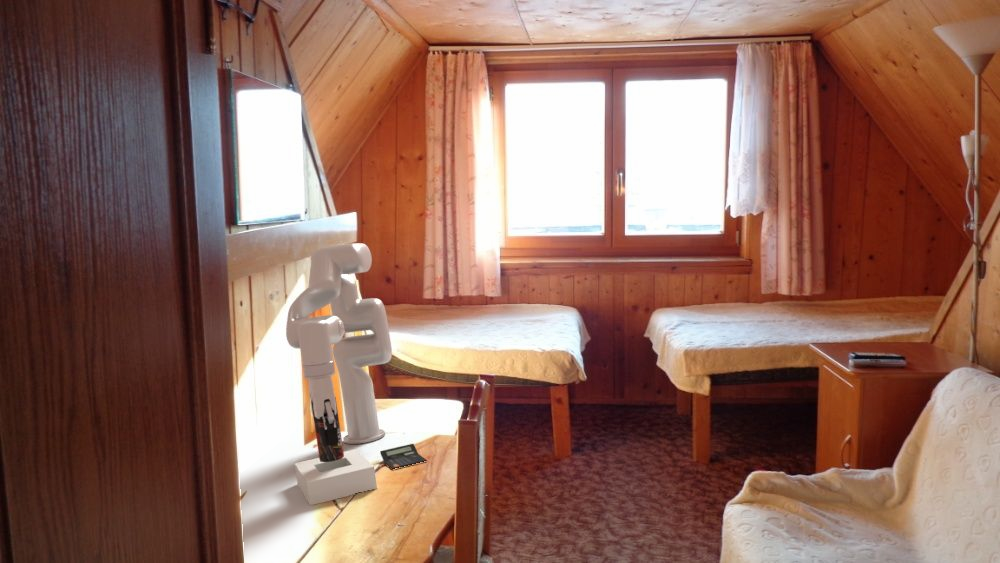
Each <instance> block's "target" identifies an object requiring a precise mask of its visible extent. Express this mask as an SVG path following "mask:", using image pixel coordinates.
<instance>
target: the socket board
mask: <svg viewBox="0 0 1000 563" xmlns="http://www.w3.org/2000/svg"><path fill="white" fill-rule="evenodd" d="M343 452H344V457H343V458H341V459H339V460H336V461H331V462H321V461H320V459H319V457H317V458H316V457H315V458H312V459H309V460H303V461H297V462H295V463H293V464H294V469H295V475H296V482H297V486H298V485H299V486H298V488H299V489H300V491H301V492H302V494H303V495H304V498H305V499H306V502H308V504H309V506H314V505H317V504H322V503H326V502H327V503H328V502H330V501H335V500H337V499H338V498H339V499H342V498H346V497H350V496H353V495H352V494H354V495H356V494H355V493H358V492H362V493H364V492H363V491H366V492H368V491H367V490H370V491H373V490H372V489H374V490H377V489H378V484H377V478H376V471H375V466H374V465H373V464H372V463H371V462H370V461H369V460H368V459H367V458H366V457H365V456H364V455H363V454H361V452H359V451H358V449H357V448H356V449H351V450H347V451H343ZM376 488H377V489H376ZM358 494H359V493H358ZM349 495H350V496H349Z"/></svg>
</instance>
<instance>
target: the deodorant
mask: <svg viewBox="0 0 1000 563" xmlns="http://www.w3.org/2000/svg"><path fill="white" fill-rule="evenodd" d="M335 401H336V410H337V413H336V415H335V416H334V418H335V423H336V427H337V434H338V441H339V443H337V444H333V445H329V446H326V445H325V439H324V432H323V430H324V425H323V420H322V417H320V419H317V418H316V417H315V415H314V409H313V407H314V406H313V402H312V401H311V404H312V411H313V414H312V416H313V423H314V429H315V436H316V444H317V445H316V446H317V451H318V458H319V459H320V461H321V462H331V461H336V460H339V459H341V458H343V457H344V452H345V451H344V448H343V441H342V440H343V439H342V438H343V437H342V432H341V426H340V420H339V419H340V417H339V410H338V405H337V397H336V396H335ZM311 404H310V405H311ZM333 412H334V410H333ZM324 416H327V414H324ZM325 420H327V419H325Z"/></svg>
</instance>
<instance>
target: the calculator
mask: <svg viewBox="0 0 1000 563" xmlns="http://www.w3.org/2000/svg"><path fill="white" fill-rule="evenodd" d="M379 454H380V456H381V458H382V461H383V462H385V463H386V464H387V465H388V466H389V467H388V466H387V465H386V464H385V463H384V464H385V465H386V466H387V467H388V468H390V467H391V468H392V469H395V468H399V467H404V466H408V465H412V464H416V463H420V462H424V461H427V462H428V460H427V458H425V457H423V456H422V455H421V454H420V453H419V452H418V451H417V448H416V446H415V444H414V443H410V444H405V445H401V446H397V447H393V448H388V449H383V450H380V453H379ZM412 466H413V465H412ZM408 467H409V466H408ZM391 468H390V469H391ZM404 468H405V467H404ZM392 469H391V470H392Z"/></svg>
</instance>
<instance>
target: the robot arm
mask: <svg viewBox="0 0 1000 563" xmlns="http://www.w3.org/2000/svg"><path fill="white" fill-rule="evenodd" d="M372 261H373V258H372V252H371V251H370V248H369V247H368V245H366V244H365V243H361V242H360V243H359V242H358V243H356V242H354V243H353V242H352V243H344V244H343V243H342V244H334V245H327V246H322V247H320V248H317V249H316V250H315V251H314V252H312V254H311V256H310V267H309V268H310V269H309V270H310V271H309V279H308V287H307V288H306V289H304V291H302V292H301V293H300V294H299V295H298V296H297V297H296V298H295V300H294V301H293V302H292V304H290V306H289V309H288V313H287V318H286V319H287V320H286V328H285V330H286V331H285V337H286V340H287V343H288V345H289V346H290V347H292V348H293V349H300V356H301V362H302V363H301V364H302V370H303V378H304V379H305V380H307V381H308V384H307V385H308V394H309V402H310V412H311V414H312V415H313V411H312V404H311V401H312V402H313V406H314V407H313V409H314V415H315V417H316V418H317V419H320V417H322V420H323V425H324V430H323V432H324V439H325V445H326V446H329V445H333V444H337V443H339V441H338V434H337V427H336V423H335V418H334V416H335V415H336V413H337V410H338V409H337V410H336V403H337V400H336V401H335V397H336V395H335V390H334V389H335V388H334V382H333V377H332V376H334V375H336V369H337V372H338V376H339V382H340V387H341V395H342V402H343V407H344V416H345V424H346V429H347V435H346V434H345V436H344V437H342V438H343V439H342V440H343V443H345V444H348V445H358V444H365V443H370V442H374V441H377V440H379V439H381V438H384V436H385V435H386V432H385V430H384V429H380V427H379V420H378V419H379V418H378V412H377V406H376V397H375V391H374V384H373V380H372V377H371V376H370V375H369V373H368V372H367V371H366V370H365V369H364V368H365V367H370V366H371V367H372V366H377V365H384V364H387V363H389V362H390V361H391V360H392V356H393V350H392V341H391V336H390V331H389V330H390V329H389V324H388V317H387V312H386V308H385V304H384V303H383V301H382V300H381V299H379V298H376V297H371V298H370V297H369V298H363V299H360V297H359V294H358V287H357V283H356V281H355V280H354V279H353V277H351V275H352V274H360V273H367V272H368V271H369V270H370V269H371V267H372V264H373V263H372ZM328 305H330V311H331V315H329V314H328V315H320V316H313V317H312V316H311V317H309V316H310V315H311V314H312V313H314V312H316V311H319V310H320V309H322V308H324V307H326V306H328ZM366 331H371V332H372V333H369V334H361V335H353V336H351V335H350V336H346V337H344V335H345V334H346V333H347V334H348V333H356V332H366ZM332 345H333V346H332ZM335 365H336V366H335ZM335 367H336V368H335ZM333 410H334V412H333ZM324 414H327V416H324ZM325 419H327V420H325Z"/></svg>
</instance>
